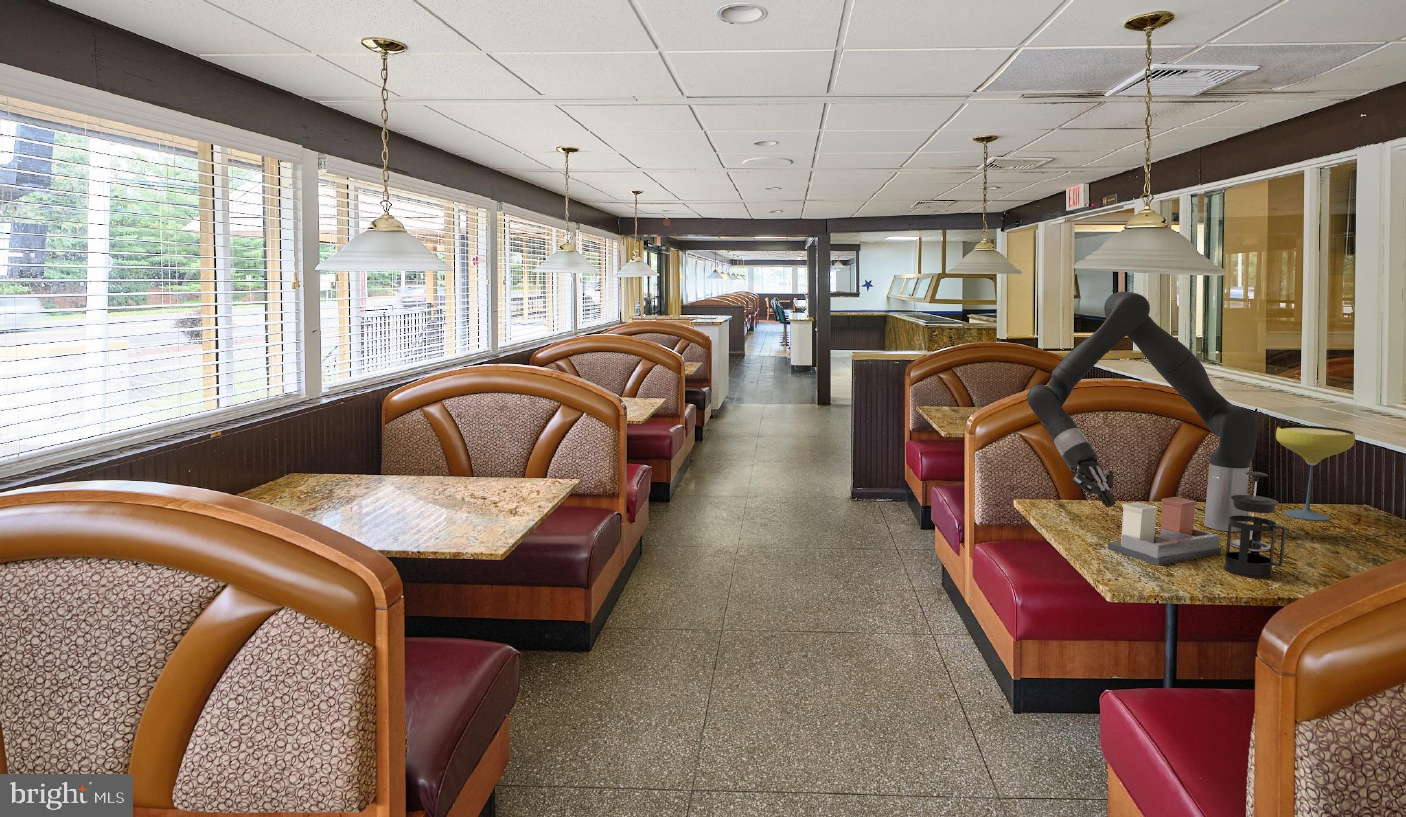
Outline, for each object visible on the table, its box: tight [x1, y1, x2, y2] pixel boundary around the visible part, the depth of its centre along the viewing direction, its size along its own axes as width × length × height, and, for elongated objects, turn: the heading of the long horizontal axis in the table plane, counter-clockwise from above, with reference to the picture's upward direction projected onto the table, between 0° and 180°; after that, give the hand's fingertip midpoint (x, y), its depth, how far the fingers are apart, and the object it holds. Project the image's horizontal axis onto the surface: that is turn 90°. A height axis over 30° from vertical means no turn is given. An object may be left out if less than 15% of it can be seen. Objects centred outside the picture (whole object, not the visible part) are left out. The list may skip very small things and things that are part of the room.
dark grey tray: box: [1107, 527, 1222, 566], centre depth 207 cm, size 14×22×4 cm, turn 115°
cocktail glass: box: [1275, 424, 1356, 522], centre depth 240 cm, size 18×18×25 cm
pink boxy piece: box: [1159, 496, 1197, 536], centre depth 211 cm, size 5×5×10 cm
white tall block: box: [1120, 502, 1159, 543], centre depth 205 cm, size 5×5×10 cm
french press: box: [1223, 471, 1287, 579], centre depth 190 cm, size 12×9×23 cm
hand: (1111, 505), depth 212 cm, fingers closed
